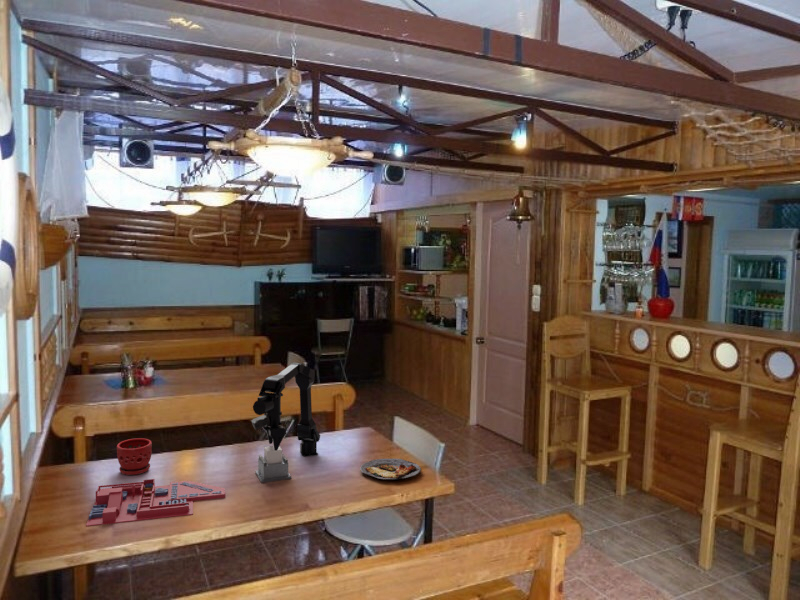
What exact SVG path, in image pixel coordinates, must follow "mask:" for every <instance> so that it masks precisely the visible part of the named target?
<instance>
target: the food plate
mask: <svg viewBox="0 0 800 600" xmlns="http://www.w3.org/2000/svg"><path fill="white" fill-rule="evenodd" d="M359 469H360V472H361V474H365V475H368V476H371V477H374V478H376V479H380V480H386V481H391V480H392V481H396V480H397V481H398V480H405V479H407V478H411V477H414V476H417V475H419V474H420V472H421V471H422V468H421V466H420V465H418V464H417V463H416V462H412V461H409V460H407V459H402V458H377V459H372V460H369V461H366V462H364V463H362V464H361V466H360V467H359Z"/></svg>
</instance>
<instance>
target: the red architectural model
mask: <svg viewBox="0 0 800 600" xmlns="http://www.w3.org/2000/svg"><path fill="white" fill-rule="evenodd" d="M224 498H225V499H226V489H225V487H220V486H216V485H210V484H206V483H200V482H196V481H192V480H181V481H170V482H169V484H167V485H156V482H155V478H151V479H143V481H137V482H128V483H127V482H126V483H115V484H105V485H103V484H102V485H98V486H97V490H96V491H95V501H94V504H93V505H92V507H91V510H90V512H89V515H88V520H87V522H86V525H85V527H92V526H93V527H94V526H101V525H110V524H111V525H113V524H120V523H130V522H131V523H132V522H139V521H148V520H156V519H167V518H176V517H184V516H192V515H194V502H195V501H206V500H213V499H224Z"/></svg>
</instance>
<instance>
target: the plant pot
mask: <svg viewBox="0 0 800 600" xmlns="http://www.w3.org/2000/svg"><path fill="white" fill-rule="evenodd" d="M129 446H131V447H129ZM135 447H136V448H135ZM152 447H153V445H152V440H150V439H148V438H142V437H140V438H139V437H138V438H130V439H125V440H122V441H119V443H118V444H117V445H116V457H117V460H118V464H119V465H120V466H119V468H118V469H119V472H120V473H122V474H123V475H128V476H134V475H135V476H136V475H141V474H143V473H145V472H148V471H149V469H150V468H151V463H150V461H151V458H152V453H153V451H152Z"/></svg>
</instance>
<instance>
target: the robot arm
mask: <svg viewBox="0 0 800 600" xmlns="http://www.w3.org/2000/svg"><path fill="white" fill-rule="evenodd" d="M315 377H316V372H315V370H313V368H310V367H309V366H305V365H304V364H303V363H302V362H291V363H289V365H288V366H287V367H286V368H284V369H283V370H281V371H280V372H279V373H278V374H276V375H270V376H268V377H266V378H264V381H263V383H262V385H261V388H260V392H259V393H258V397H257V400H256V401H254V403H253V405H252V411H253V412H254V414H256V415H258V416H257V417H256V418H253V419H251V420H250V421H251V424H252V426H253V429H254V430H255V431H256V430H257V431H258V430H260V429H261V428H263V429H264V430H265V431H266V435H267V440H268V443H269V444H270V445H273V446H274V450H275V451H277V450H278V448H279V446H280V447H281V443H282V441H283V439H284V437H285V436H286V435H287V429H286V428H285V427H284V426H283V423H282V421H281V418H282V417H281V416H282V415H283V412H282V411H281V407H282V406H281V404H282V403H281V402H282V401H281V400H282V398H281V397H283V396H284V394H283V393H282V392H283V390H284V389H285V388H286V385H287V383H288V382H289V381H290V380H292V379H293V378H294V381H295V384H296V386H297V388H299V402H300V404H299V406H300V408H299V409H300V420H299V422H298V423H297V424H296V435H297V440H298V441H301V442H300V443H299V444H300V445H299V448H300V449H299V453H301V454H302V456H303V457H308V456H309V457H310V456H317V455H318V452H317V450H318V449H317V442H320V440H321V434H320V433H319V431H318V429H317V424H316V422H315V421H314V419H313V415H312V414H313V413H312V412H313V411H312V386H313V384H314V382H315Z"/></svg>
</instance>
